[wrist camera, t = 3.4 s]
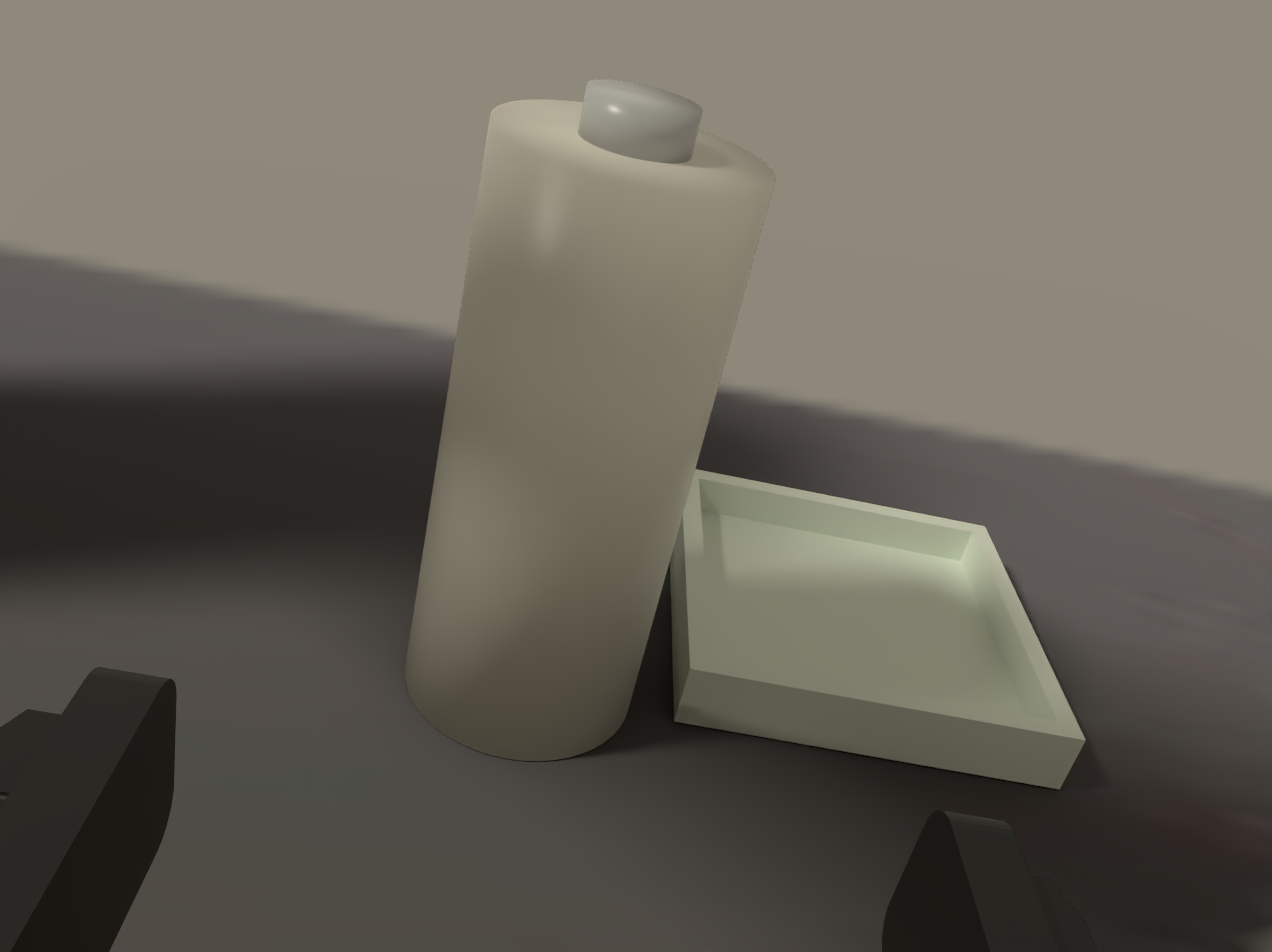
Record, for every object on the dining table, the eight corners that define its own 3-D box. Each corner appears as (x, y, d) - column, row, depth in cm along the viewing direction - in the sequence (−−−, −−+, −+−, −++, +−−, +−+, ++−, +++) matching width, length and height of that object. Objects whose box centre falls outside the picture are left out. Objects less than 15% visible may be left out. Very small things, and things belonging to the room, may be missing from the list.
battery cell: (383, 737, 23) (479, 94, 17) (425, 593, 28) (513, 38, 22) (627, 779, 24) (804, 167, 18) (631, 631, 28) (774, 99, 22)
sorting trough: (674, 721, 26) (690, 669, 25) (668, 510, 34) (680, 466, 33) (1059, 789, 27) (1085, 740, 26) (966, 568, 35) (984, 526, 34)
